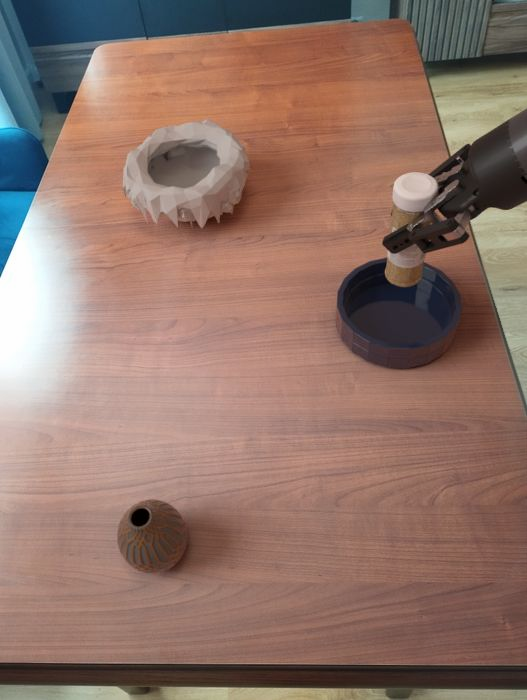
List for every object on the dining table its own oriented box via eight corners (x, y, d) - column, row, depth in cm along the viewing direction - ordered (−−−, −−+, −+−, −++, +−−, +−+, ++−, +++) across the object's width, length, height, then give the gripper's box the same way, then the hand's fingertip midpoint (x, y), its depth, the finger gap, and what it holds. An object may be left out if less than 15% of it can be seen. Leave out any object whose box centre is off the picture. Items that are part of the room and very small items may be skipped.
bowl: (279, 184, 98) (275, 130, 90) (212, 262, 88) (201, 209, 80) (179, 155, 106) (168, 103, 98) (108, 223, 96) (88, 171, 88)
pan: (475, 355, 74) (482, 333, 70) (356, 381, 73) (357, 360, 69) (429, 271, 83) (434, 247, 80) (323, 293, 82) (323, 270, 79)
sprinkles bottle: (397, 257, 73) (409, 165, 62) (429, 272, 71) (447, 179, 60) (376, 278, 71) (385, 187, 60) (409, 295, 69) (423, 203, 58)
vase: (139, 593, 60) (114, 566, 53) (120, 532, 64) (96, 500, 57) (201, 563, 61) (186, 533, 54) (180, 506, 65) (163, 471, 58)
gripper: (517, 80, 56) (382, 171, 69) (505, 169, 48) (355, 254, 61) (559, 136, 59) (422, 213, 72) (554, 228, 51) (401, 297, 64)
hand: (392, 232), depth 66 cm, fingers closed on sprinkles bottle, 4 cm apart
